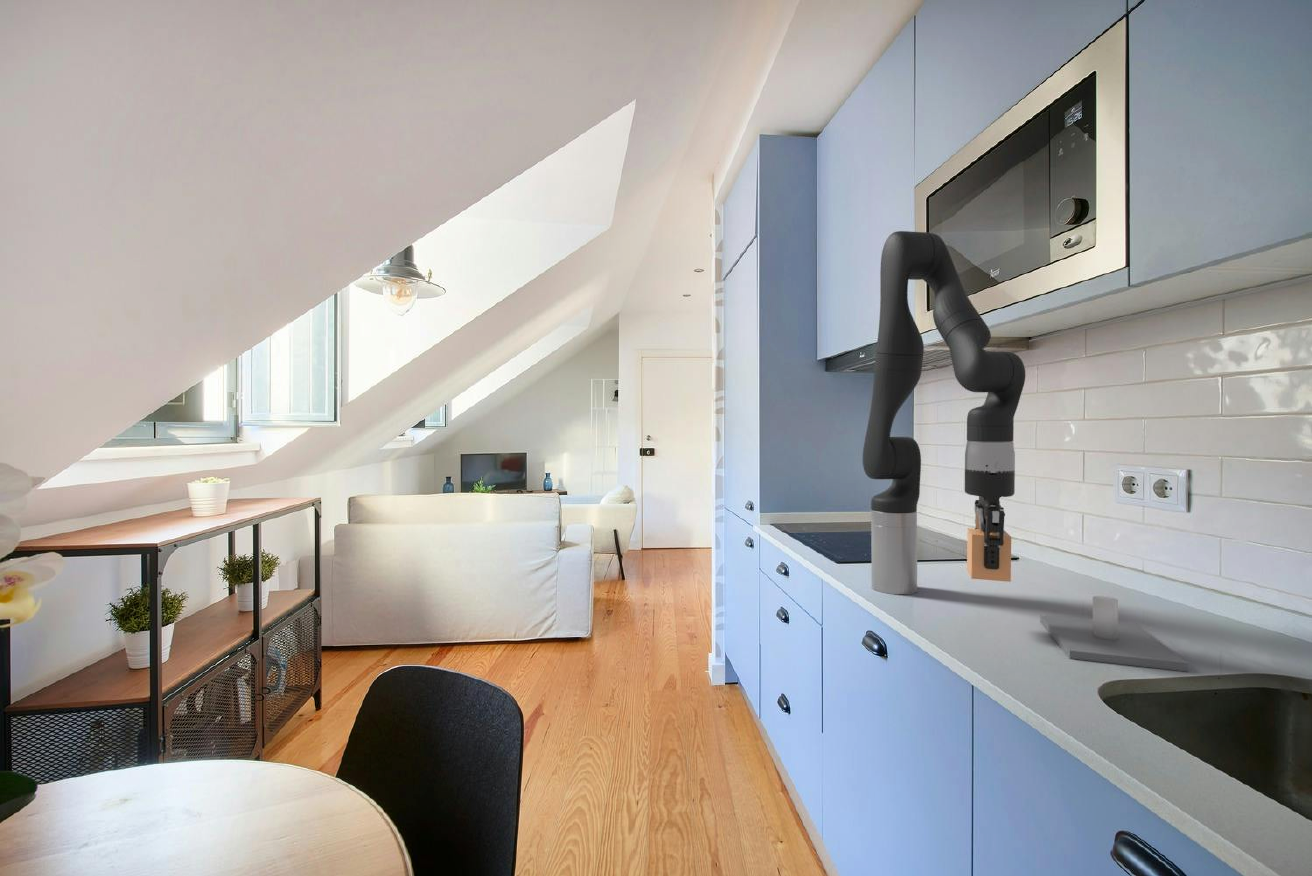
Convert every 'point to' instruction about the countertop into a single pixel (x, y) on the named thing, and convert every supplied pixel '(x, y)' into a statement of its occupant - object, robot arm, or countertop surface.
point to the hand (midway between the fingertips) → (988, 563)
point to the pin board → (1110, 639)
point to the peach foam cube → (977, 557)
